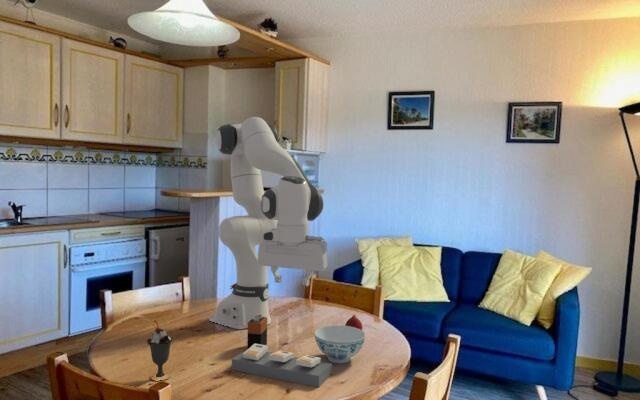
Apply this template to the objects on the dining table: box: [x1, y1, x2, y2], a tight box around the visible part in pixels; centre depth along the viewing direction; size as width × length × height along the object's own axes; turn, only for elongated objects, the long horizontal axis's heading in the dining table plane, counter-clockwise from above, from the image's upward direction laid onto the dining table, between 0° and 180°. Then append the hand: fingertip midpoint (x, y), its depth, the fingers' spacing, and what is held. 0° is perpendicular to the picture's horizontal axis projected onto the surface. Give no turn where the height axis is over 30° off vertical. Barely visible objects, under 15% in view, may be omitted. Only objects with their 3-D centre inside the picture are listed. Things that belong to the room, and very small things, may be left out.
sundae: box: [146, 320, 174, 377], centre depth 128 cm, size 7×7×15 cm
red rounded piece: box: [344, 314, 363, 331], centre depth 163 cm, size 6×6×8 cm
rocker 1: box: [243, 344, 269, 360], centre depth 137 cm, size 4×6×2 cm
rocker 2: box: [269, 350, 295, 362], centre depth 134 cm, size 4×6×2 cm
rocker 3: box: [296, 354, 322, 367], centre depth 131 cm, size 4×6×2 cm
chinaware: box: [314, 324, 366, 364], centre depth 144 cm, size 15×15×8 cm
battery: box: [246, 315, 268, 350], centre depth 151 cm, size 4×7×10 cm, turn 169°
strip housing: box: [231, 348, 333, 388], centre depth 134 cm, size 26×9×3 cm, turn 67°
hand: (291, 283), depth 137 cm, fingers open, 7 cm apart
